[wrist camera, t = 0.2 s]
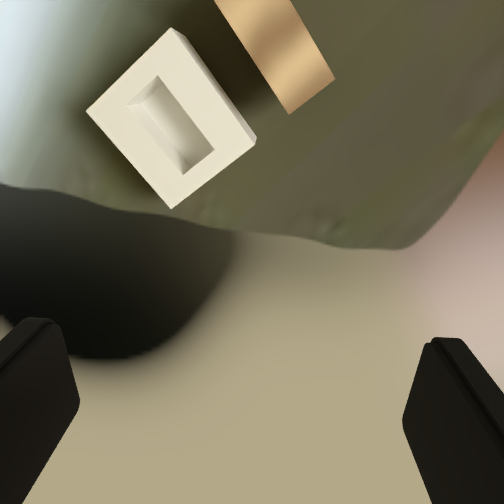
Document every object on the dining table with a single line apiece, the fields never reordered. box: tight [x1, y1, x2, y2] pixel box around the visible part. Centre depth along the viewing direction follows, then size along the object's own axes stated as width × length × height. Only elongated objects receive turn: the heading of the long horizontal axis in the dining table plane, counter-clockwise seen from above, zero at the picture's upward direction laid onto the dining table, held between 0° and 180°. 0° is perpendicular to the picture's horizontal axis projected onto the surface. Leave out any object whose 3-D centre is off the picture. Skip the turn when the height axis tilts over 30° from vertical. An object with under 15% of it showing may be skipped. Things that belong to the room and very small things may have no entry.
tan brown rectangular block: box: [214, 0, 335, 114], centre depth 33 cm, size 12×5×8 cm, turn 37°
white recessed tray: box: [86, 28, 257, 209], centre depth 38 cm, size 13×12×6 cm
